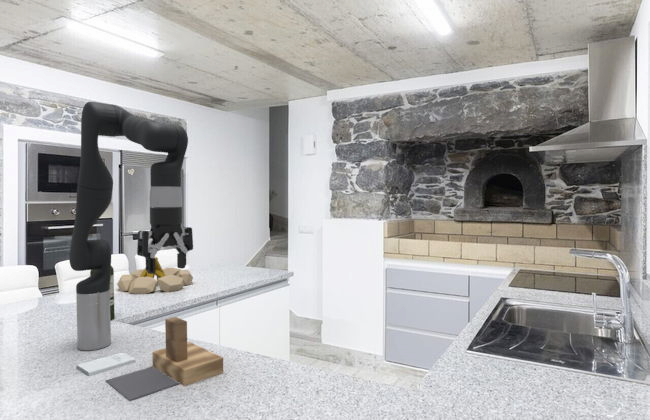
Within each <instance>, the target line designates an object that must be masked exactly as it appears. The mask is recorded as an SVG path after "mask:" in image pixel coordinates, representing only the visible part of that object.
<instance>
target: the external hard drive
mask: <svg viewBox="0 0 650 420" xmlns="http://www.w3.org/2000/svg"><path fill="white" fill-rule="evenodd" d="M130 363H131V364H134V363H136V358H135V357H133V356H131V355H129V354H127V353H124V352H119V353H115V354H112V355H109V356H104V357H101V358H97V359H93V360H89V361H86V362H82V363H79V364H76V367H75V368H76V370H78V371H80V372H81V373H83V374H84V375H86V376H88V377H92V376H96V375H98V374H102V373H104V372H109V371H111V370H115V369H117V368H121V367H124V366H127V364H128V365H131V364H130Z"/></svg>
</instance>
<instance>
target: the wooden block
mask: <svg viewBox="0 0 650 420" xmlns="http://www.w3.org/2000/svg"><path fill="white" fill-rule="evenodd" d="M151 354H152V356H151V357H152V358H151V359H152V367H154V368H156V369H157V370H159V371H160V372H162V373H164V374H165V375H167V376H168V377H170V378H172V379H173V380H175V381H176V382H178V383H179V384H180V385H182V386H184V387H186V386H189V385H192V384H195V383H198V382H201V381H204V380H206V379H208V378H213V377H215V376H218V375H220V374H223V373H224V357H222V356H221V355H218V354H216V353H214V352H212V351H209V350H208V349H206V348H204V347H201V346H199V345H197V344H194V343H193V342H191V341H187V359H186V360H183V361H180V362H175V361H173V360H172V359H170V358H168V357H166V347H164V348H161V349H158V350H154V351H153V350H152V352H151Z"/></svg>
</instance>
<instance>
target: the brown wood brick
mask: <svg viewBox="0 0 650 420" xmlns="http://www.w3.org/2000/svg"><path fill="white" fill-rule="evenodd" d="M164 324H165V330H164V331H165V348H166V357H168V358H170V359H172V360H173V361H175V362H180V361H183V360H186V359H187V342H188V321H187V320H184V319H182V318H179V317H177V316H175V317H168V318H165V322H164Z"/></svg>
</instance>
